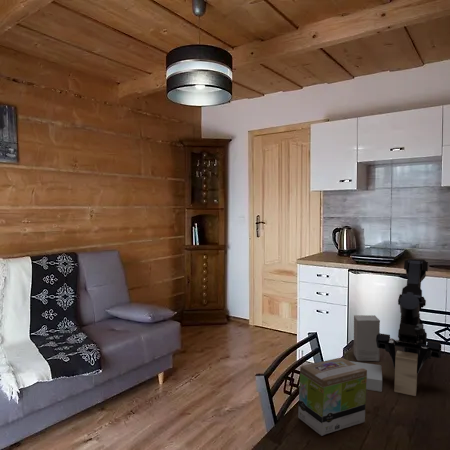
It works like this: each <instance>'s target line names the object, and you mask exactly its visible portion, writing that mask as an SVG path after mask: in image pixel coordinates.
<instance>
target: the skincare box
mask: <svg viewBox="0 0 450 450" xmlns="http://www.w3.org/2000/svg"><path fill="white" fill-rule="evenodd" d="M380 324H381V320H380V318H378V317H377V316H376V315H372V314H371V315H368V314H367V315H357V314H354V315H353V356H354V358H355V359H356V362H380V348H378V347H377V343H376V337H377V334H379V333H380V332H381V331H380V330H381V329H380V328H381V327H380V326H381V325H380Z"/></svg>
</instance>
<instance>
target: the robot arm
mask: <svg viewBox="0 0 450 450" xmlns="http://www.w3.org/2000/svg"><path fill="white" fill-rule="evenodd" d="M403 262H404V263H403V270H404V271H405V273H406V278H407V279H406V280H407V281H406V285H404V287H402V290H401V293H400V294H399V295H398V296H399V297H398V299H397V304H398V306H399V309H400V311H399V312H400V320H399V321H400V322H399V329H398V332H397V333H398V334H397V338H398V339H395V338H391V335H390V334H387V333H379V334H377V337H376V343H377V347H378V348H379V349H380V350H385V351H386V352H387V353H389V355H390V358H391V361H392V365H393V368H394V370H395V356H396V347H401V348H403V350H402V351H404V352H410V353H416V354H418V365H417V374H419V373H420V371H421V370H422V368H423V365H424V364H425V362H426V361H427V360H431V359H432V358H436V359H441V357H442V344H441V342H439V341H433V340H428V338H427V336H428V334H427V331H426V329H425V328H424V323H423V319H421V313H420V311H421V310H422V308H424V307H426V305H427V303H426V302H427V300H426V299H425V297H424V296H423V290H422V282H423V280H425V278H426V277H427V276H426V275H427V272H428V271H429V262H428V261H426V259H425V258H424V259H421V258H410V257H409V258H408V259H406V260H403Z"/></svg>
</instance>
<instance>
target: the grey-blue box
mask: <svg viewBox="0 0 450 450" xmlns="http://www.w3.org/2000/svg"><path fill="white" fill-rule="evenodd" d="M349 361H350V362H352V363H354V364H356V365H358V366H360V367H362V368H364V369H366V370H367V383H366V391H368V390H369V391H373V392H374V391H375V392H379V393H380V392H383V373H382V372H383V371H382V364H381V365H380V364H374V363H366V362H361V361H351V360H349Z"/></svg>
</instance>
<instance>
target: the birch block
mask: <svg viewBox="0 0 450 450" xmlns="http://www.w3.org/2000/svg"><path fill="white" fill-rule="evenodd" d="M395 354H396V356H395V369H394V385H393V386H394V387H393V388H394V390H393V391H394V392H395V393H399V394H404V395H409V396H412V397H417V390H418V388H417V387H418V373H417V365H418V354H416V353H410V352H404V351H403V350H399V349H398V350H397V351H396V352H395Z"/></svg>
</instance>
